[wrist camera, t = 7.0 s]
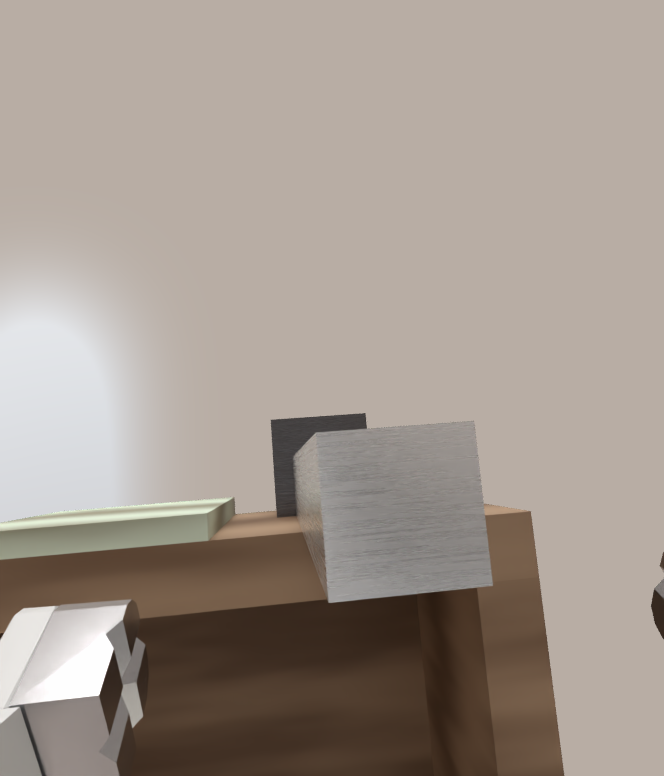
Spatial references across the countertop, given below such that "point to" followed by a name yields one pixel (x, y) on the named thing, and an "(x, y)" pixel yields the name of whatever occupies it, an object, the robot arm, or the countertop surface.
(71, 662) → the robot arm
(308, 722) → the brown wooden box
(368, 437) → the grey metal bar
